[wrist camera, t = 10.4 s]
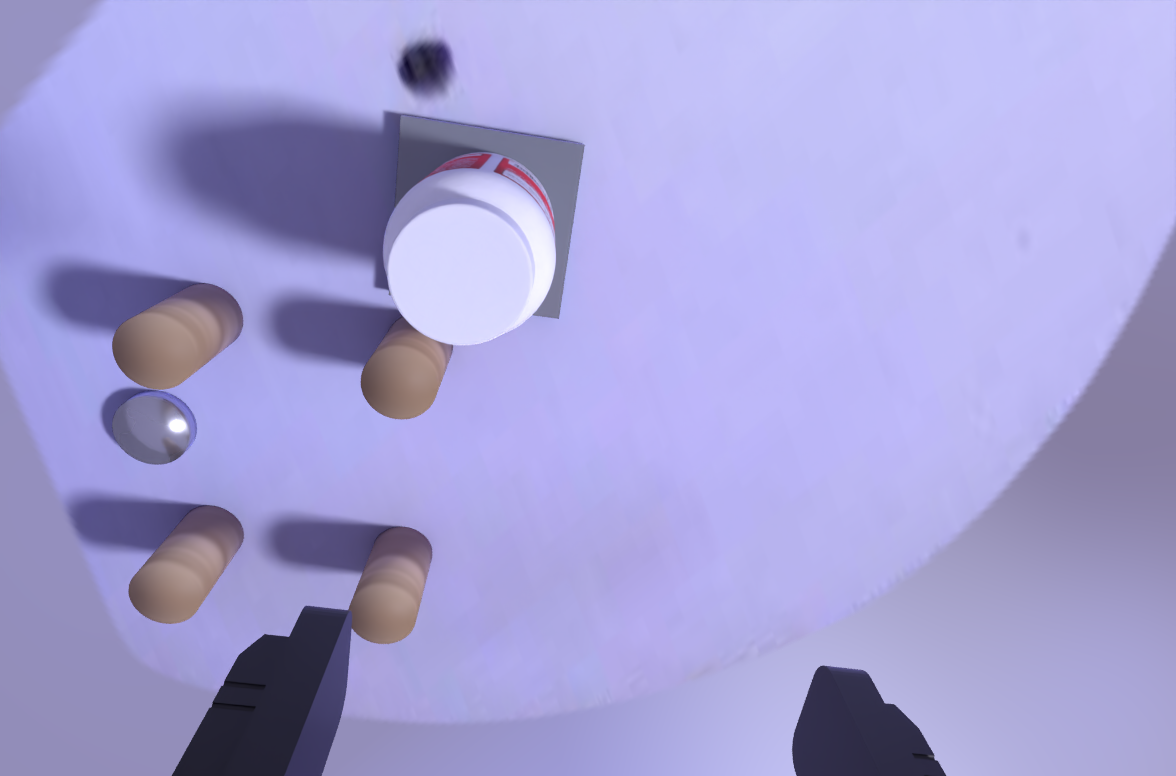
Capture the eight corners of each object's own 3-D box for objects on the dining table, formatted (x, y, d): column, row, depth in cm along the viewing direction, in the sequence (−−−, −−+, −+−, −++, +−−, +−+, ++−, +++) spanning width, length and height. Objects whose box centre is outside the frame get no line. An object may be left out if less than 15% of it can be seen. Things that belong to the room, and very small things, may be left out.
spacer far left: (180, 502, 40) (126, 562, 35) (243, 509, 41) (199, 570, 36) (182, 554, 41) (130, 620, 36) (243, 560, 42) (200, 626, 37)
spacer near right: (388, 308, 37) (362, 343, 32) (455, 317, 37) (440, 354, 32) (384, 370, 38) (358, 414, 33) (449, 378, 38) (433, 423, 33)
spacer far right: (374, 523, 41) (349, 585, 36) (434, 530, 42) (418, 592, 36) (371, 573, 42) (346, 640, 37) (429, 580, 43) (413, 646, 38)
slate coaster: (404, 114, 34) (400, 115, 33) (583, 143, 35) (584, 144, 34) (392, 290, 37) (388, 295, 36) (558, 314, 37) (558, 318, 37)
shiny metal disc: (122, 384, 38) (109, 393, 37) (198, 393, 38) (187, 402, 37) (126, 449, 39) (114, 459, 38) (199, 457, 40) (189, 468, 39)
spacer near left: (172, 278, 36) (110, 310, 31) (243, 288, 36) (192, 321, 31) (174, 343, 37) (114, 384, 32) (243, 352, 38) (194, 394, 32)
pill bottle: (405, 268, 36) (346, 342, 25) (432, 133, 33) (379, 154, 23) (536, 302, 36) (530, 387, 26) (570, 172, 34) (578, 209, 24)
